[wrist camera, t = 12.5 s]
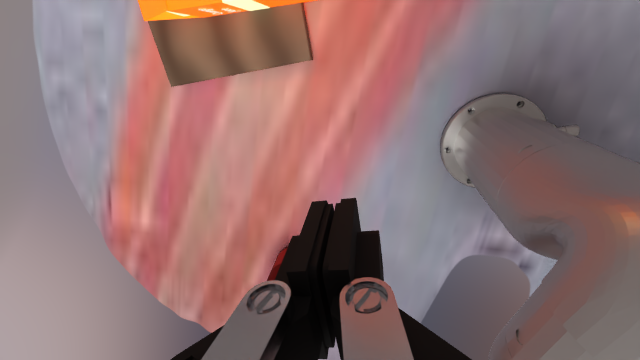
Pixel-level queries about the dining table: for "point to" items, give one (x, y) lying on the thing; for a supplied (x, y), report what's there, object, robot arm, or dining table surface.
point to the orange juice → (203, 7)
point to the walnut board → (231, 43)
